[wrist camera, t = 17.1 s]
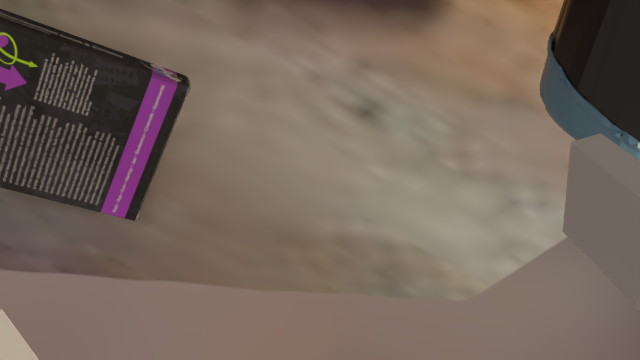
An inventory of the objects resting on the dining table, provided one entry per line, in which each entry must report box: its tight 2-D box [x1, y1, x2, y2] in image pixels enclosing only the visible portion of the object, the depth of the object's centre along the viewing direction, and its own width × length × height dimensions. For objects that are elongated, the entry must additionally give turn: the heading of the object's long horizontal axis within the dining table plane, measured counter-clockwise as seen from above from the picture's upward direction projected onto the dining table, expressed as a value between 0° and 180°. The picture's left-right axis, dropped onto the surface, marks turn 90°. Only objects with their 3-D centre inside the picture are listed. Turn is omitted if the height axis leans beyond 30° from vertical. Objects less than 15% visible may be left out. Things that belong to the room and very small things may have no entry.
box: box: [0, 9, 190, 221], centre depth 46 cm, size 14×4×20 cm
